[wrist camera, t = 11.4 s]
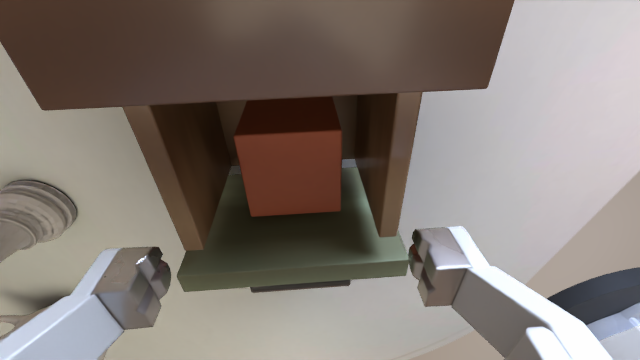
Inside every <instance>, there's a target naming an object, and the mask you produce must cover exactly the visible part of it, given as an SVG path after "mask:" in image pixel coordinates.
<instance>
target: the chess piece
mask: <svg viewBox="0 0 640 360" xmlns="http://www.w3.org/2000/svg"><path fill="white" fill-rule="evenodd" d="M75 219H76V210H75V207H74V205H73V204H72V202H71V201H70V199H68V197H66V196H65V195H64V194H63V193H61V192H60V191H58V190H57V189H55V188H53V187H51V186H48V185H46V184H43V183H39V182H34V181H16V182H13V183H10V184H8V185H7V186H5V187H4V188H3V189H1V190H0V262H2V261H3V260H4V259H5V258H7V257H8V256H10V255H12V254H13V253H15V252H16V251H18V250H26V249H30V248H32V247H33V246H35V245H36V243H41V242H47V241H51V240H54V239H56V238H58V237H59V236H61V235H62V233H63V232H64V231H65V230H66V229H68V228H69V227H70V226H71V225H72V223H73V222H74V220H75Z"/></svg>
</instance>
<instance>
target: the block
mask: <svg viewBox="0 0 640 360" xmlns="http://www.w3.org/2000/svg"><path fill="white" fill-rule="evenodd" d="M233 138H234V142H235V147H236V151H237V156H238V160H239V165H240V169H241V174H242V178H243V183H244V188H245V192H246V197H247V201H248V206H249V210H250V215H251V217H258V216H273V215H289V214H304V213H320V212H335V211H340V210H341V173H342V128H341V125H340V121H339V118H338V114H337V111H336V107H335V104H334V101H333V97H332V96H330V97H309V98H289V99H269V100H248V101H247V102H246V104H245V107H244V110H243V112H242V115H241V118H240V120H239V123H238V126H237V128H236V131H235V134H234V137H233Z"/></svg>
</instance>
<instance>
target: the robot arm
mask: <svg viewBox="0 0 640 360" xmlns="http://www.w3.org/2000/svg"><path fill="white" fill-rule="evenodd" d="M412 239H413V242H414V244H413V245H412V246H411V247H410V248H409V254H408V256H409V265H410V269H411V272H412V275H413V276H414V277H415V278H416V279H418V280H419V284H418V287H417V288H418V291H419V293H420V296H421V298H422V301H423V303H424V306H425V307H428V306H449V305H452V308H453V309H454V310H455V311H456V312H458V313H459V314H460V315H461V316H462V317H463V318H464V319H465V320H466V321H467V322H468V323H469V324H470V325H471V326H472V327H473V328H474V329H475V330H476V331H477V332H478V333H480V335H481V336H483V337H484V338H485V339H486V340H487V341H488V342H489V343H490V344H491V345H492V346H493V347H494V348H495V349H496V350H497V351H498V352H499V353H500V354H501V355H502V356H503V357H504V358H505V359H504V360H640V303H637V304H635V305H633V306H631V307H629V308H627V309H625V310H623V311H621V312H619V313H617V314H614V315H611V316H608V317H605V318H603V319H600V320H597V321H595V322H592V323H590V324H588V325H585V324H584V323H583V322H582V321H580V320H579V319H577V318H576V317H574V316H572V315H571V314H569V313H568V312H566V311H565V310H563V309H561V308H560V307H558V306H557V305H555V304H554V303H552V302H550V301H549V300H547V299H546V298H544V297H542V296H541V295H539V294H538V293H536V292H535V291H533V290H531V289H530V288H528V287H527V286H525V285H524V284H522V283H520V282H519V281H517V280H516V279H514V278H513V277H511V276H509V275H508V274H506V273H505V272H503V271H502V270H500V269H498V268H497V267H495V266H493V267H490V265H489V264H488V262H487V261H486V259H485V258H484V256H483V255H482V253H481V252H480V250H479V249H478V247H477V246H476V244H475V243H474V241H473V240H472V238H471V237H470V235H469V234H468V232H467V231H466V229H465V228H464V227H462V226H456V227H446V228H445V227H441V228H428V229H415V230H414V232H413V235H412ZM162 255H163V254H162V252H161V250H160V248H159V247H133V248H115V249H105V250H104V251H102V252H101V253H100V254H99V255H98V257H97V258H96V260H95V261H94V263H93V264H92V265H91V267H90V268H89V270H88V271H87V272H86V274H85V275H84V277H83V278H82V280H81V281H80V282H79V284H78V285H77V287H76V288H75V289H74V291H73V292H72V294H71V295H70V296H64V297H63V298H61V299H60V300H59V301H57V302H56V303H54V304H53V305H51V306H50V307H48V308H47V309H46V310H44V311H43V312H41V313H40V314H38V315H37V316H35V317H34V318H33V319H31V320H30V321H28V322H27V323H25V324H24V325H22V326H21V327H20V328H18V329H17V330H15V331H14V332H12V333H11V334H9V335H8V336H7V337H5V338H4V339H2V340H1V341H0V360H97V359H98V358H99V357H100V356H101V355H102V354H103V353H104V352H105V351H106V350H107V349H108V348H109V347H110V346H111V345H112V344H113V343H114V342H115V340H116V339H117V338H118V337H119V336H120V335H121V334H122V333H123V332H124V330H127V329H137V328H147V327H153V326H154V323H155V321H156V318H157V316H158V313H159V311H160V309H161V303H160V301H159V300H160V299H161V298H162V297H163V296H164V295H165V294H166V293H167V291H168V289H169V286H170V281H171V272H170V268H169V266H168V263H166V262H164V261H163V260H161V257H162Z"/></svg>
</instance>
